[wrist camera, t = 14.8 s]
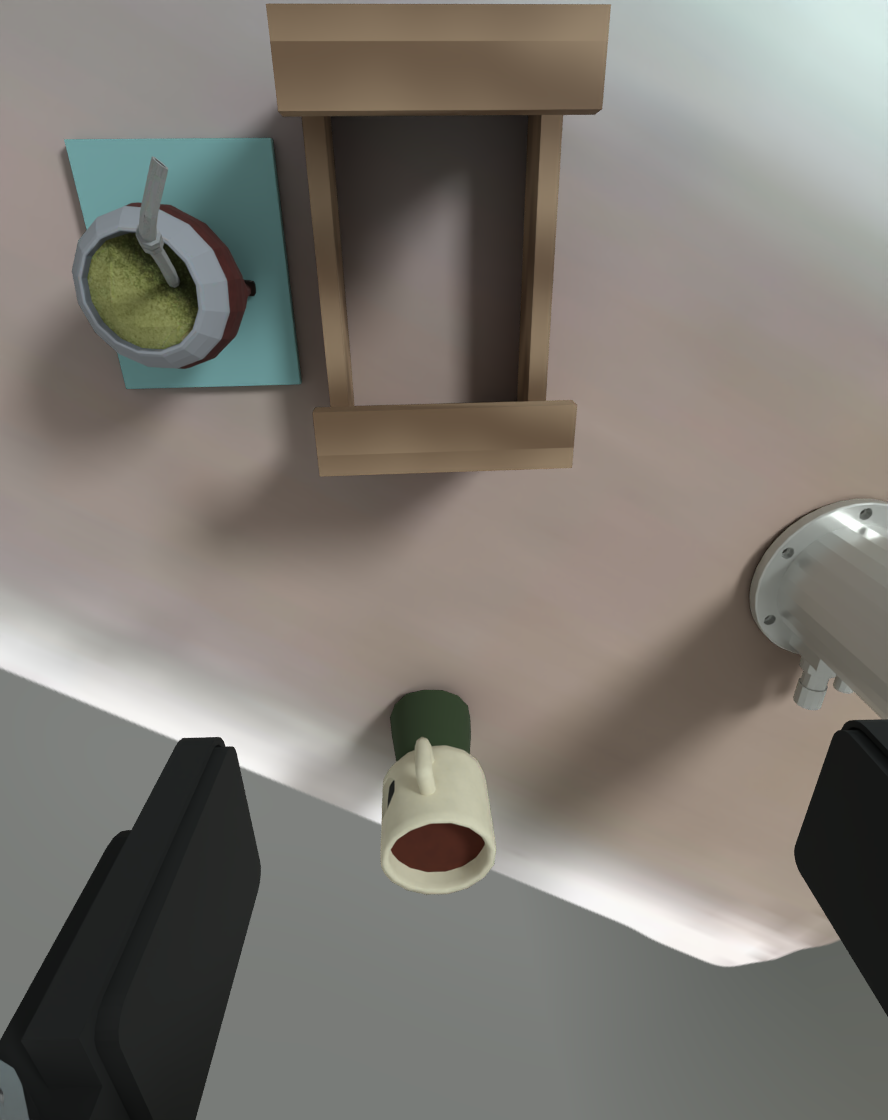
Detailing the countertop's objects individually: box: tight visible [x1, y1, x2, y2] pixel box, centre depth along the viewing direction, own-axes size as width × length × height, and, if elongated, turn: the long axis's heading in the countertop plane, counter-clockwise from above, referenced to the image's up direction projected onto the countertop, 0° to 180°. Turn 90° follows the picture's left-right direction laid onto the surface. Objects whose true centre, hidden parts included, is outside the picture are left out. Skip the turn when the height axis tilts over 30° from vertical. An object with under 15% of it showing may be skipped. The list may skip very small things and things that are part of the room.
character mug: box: [381, 690, 496, 895], centre depth 43 cm, size 11×7×13 cm, turn 9°
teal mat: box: [64, 138, 302, 389], centre depth 33 cm, size 12×10×1 cm
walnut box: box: [266, 4, 611, 476], centre depth 29 cm, size 17×12×10 cm
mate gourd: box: [72, 156, 256, 369], centre depth 26 cm, size 8×8×15 cm
